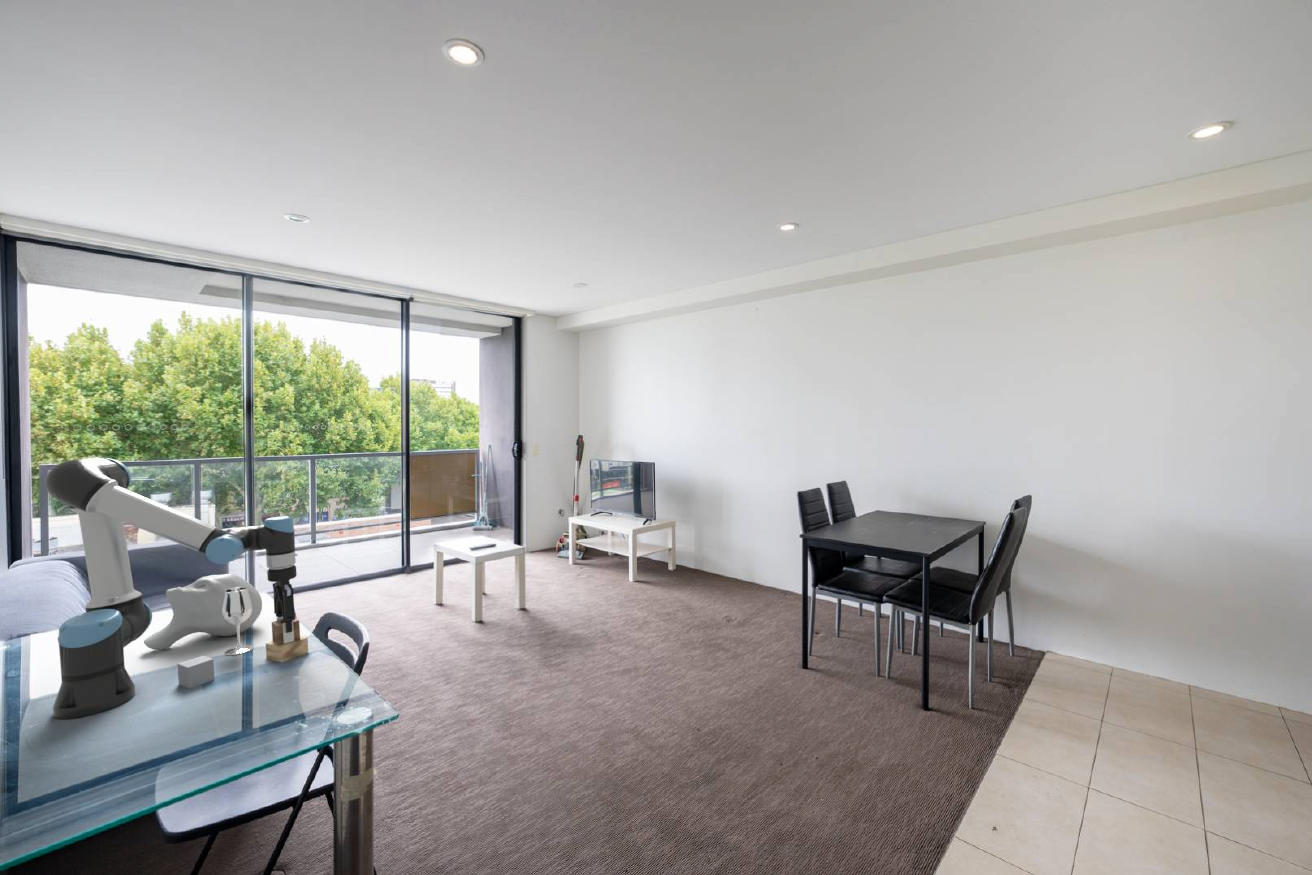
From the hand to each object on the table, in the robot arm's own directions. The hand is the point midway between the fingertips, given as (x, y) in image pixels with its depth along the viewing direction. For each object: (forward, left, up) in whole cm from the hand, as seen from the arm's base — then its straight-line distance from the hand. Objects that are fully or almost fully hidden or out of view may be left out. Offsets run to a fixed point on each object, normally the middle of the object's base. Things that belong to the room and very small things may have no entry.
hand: (285, 639), depth 173 cm
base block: (0, 0, -5) cm, 5 cm away
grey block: (-22, -1, -5) cm, 23 cm away
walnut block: (0, 0, 0) cm, 0 cm away
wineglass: (-9, +17, -5) cm, 20 cm away
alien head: (-14, +40, -5) cm, 43 cm away
